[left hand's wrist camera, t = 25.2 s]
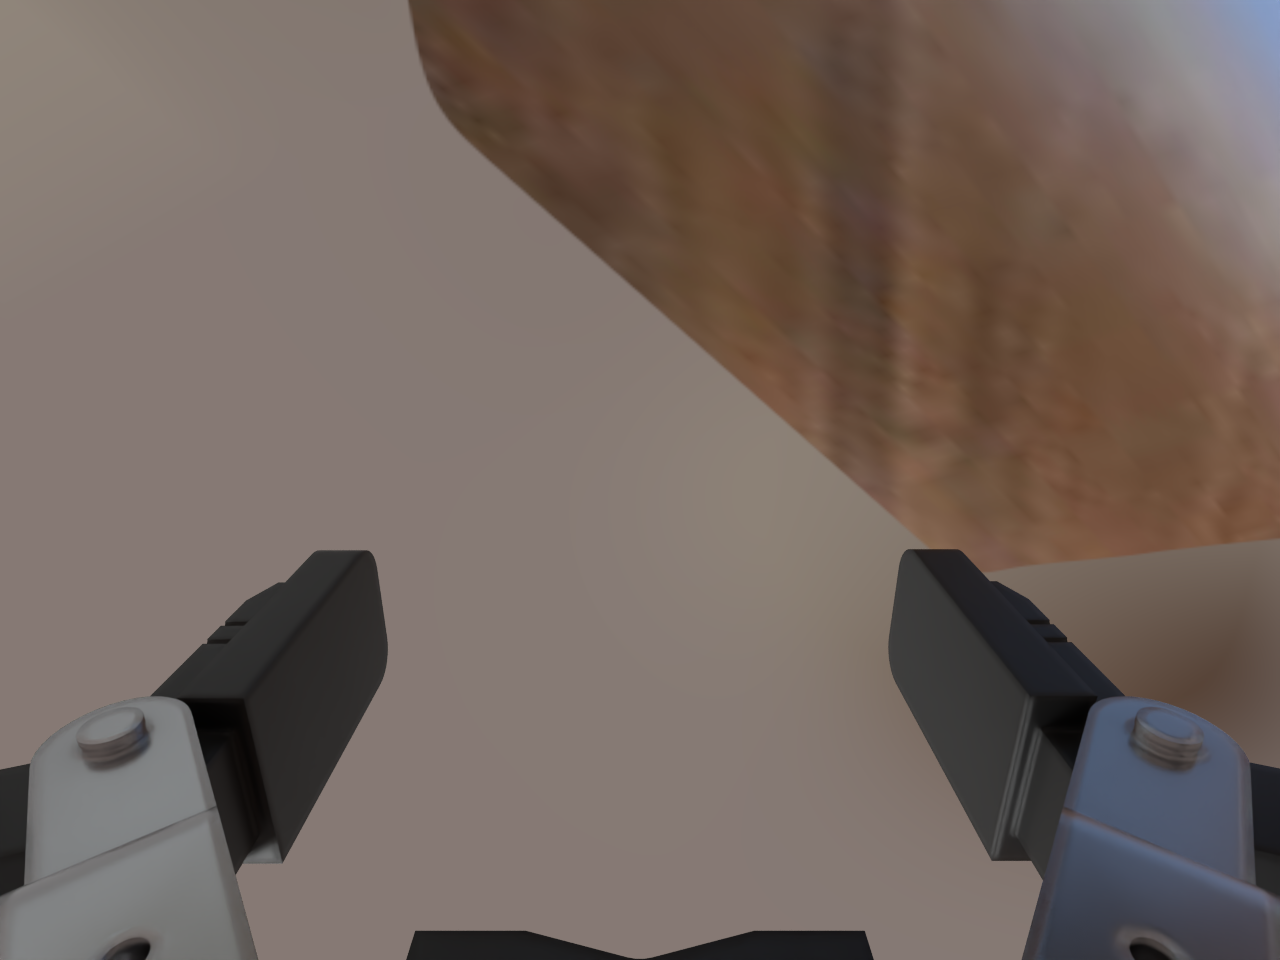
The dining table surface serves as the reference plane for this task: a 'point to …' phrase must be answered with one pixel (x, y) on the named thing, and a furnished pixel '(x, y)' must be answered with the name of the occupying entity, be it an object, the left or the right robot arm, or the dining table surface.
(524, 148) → the dining table surface
